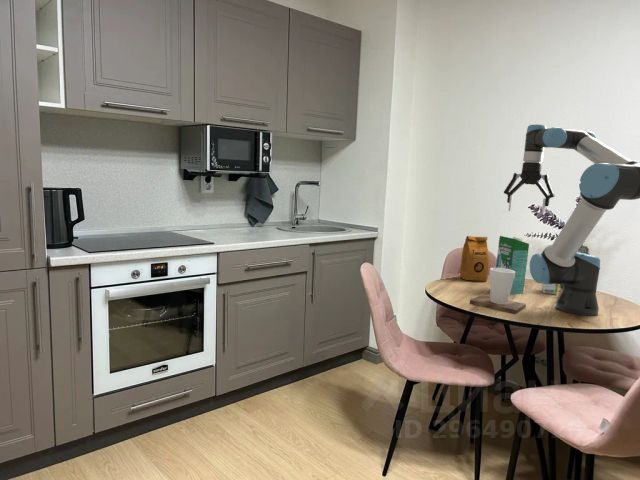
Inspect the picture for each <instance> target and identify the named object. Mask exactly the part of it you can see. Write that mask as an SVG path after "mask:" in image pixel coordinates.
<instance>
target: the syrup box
mask: <svg viewBox="0 0 640 480" xmlns="http://www.w3.org/2000/svg"><path fill="white" fill-rule="evenodd" d="M558 286H559V284H542V287H541V291H542V292H543V294H553V295H558V294H557V293H558V289H559V288H558Z"/></svg>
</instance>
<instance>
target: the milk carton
mask: <svg viewBox="0 0 640 480" xmlns="http://www.w3.org/2000/svg"><path fill="white" fill-rule="evenodd" d="M498 239H499V240H498V248H497V255H496V256H497V257H496V263H495V268H504V269H510V270H513V271H515V278H514V280H513V284H512V287H511V291H510V295H515V294H517V295H519V294H524V288H525V280H526V272H527V265H528V257H529V249H530V243H528V242H525V241H523V239H522V238H520V237H516V236H513V237H508V236H502V235H499V237H498Z"/></svg>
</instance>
